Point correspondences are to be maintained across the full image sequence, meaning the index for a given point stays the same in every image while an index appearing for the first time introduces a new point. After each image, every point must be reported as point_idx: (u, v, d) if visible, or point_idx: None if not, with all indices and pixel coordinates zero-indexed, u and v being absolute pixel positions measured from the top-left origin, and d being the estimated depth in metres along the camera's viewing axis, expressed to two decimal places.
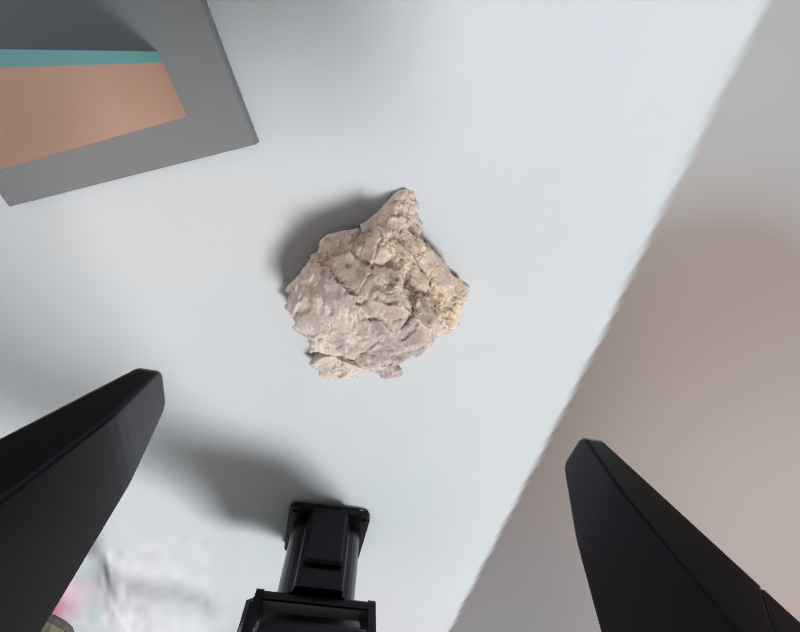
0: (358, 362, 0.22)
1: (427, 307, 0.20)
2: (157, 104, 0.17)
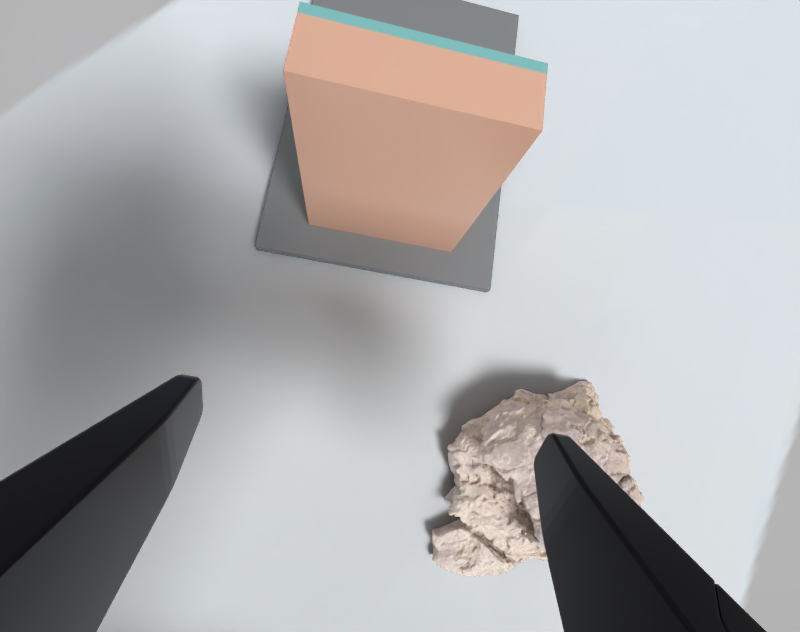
0: (540, 526, 0.18)
1: None
2: None
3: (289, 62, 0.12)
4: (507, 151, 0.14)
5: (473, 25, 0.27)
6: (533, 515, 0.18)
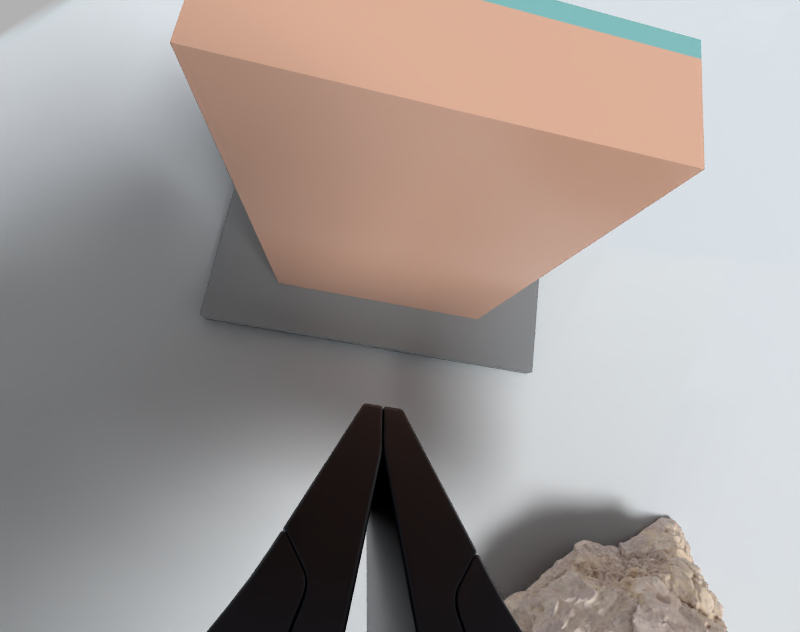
0: None
1: None
2: None
3: (185, 26, 0.06)
4: (615, 202, 0.08)
5: None
6: None
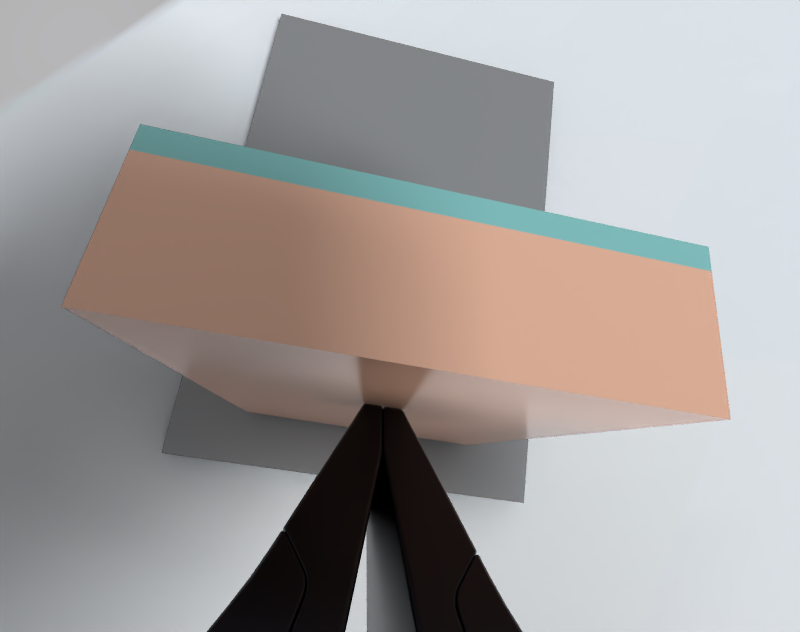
0: None
1: None
2: None
3: (85, 281, 0.05)
4: (619, 420, 0.07)
5: (492, 97, 0.20)
6: None
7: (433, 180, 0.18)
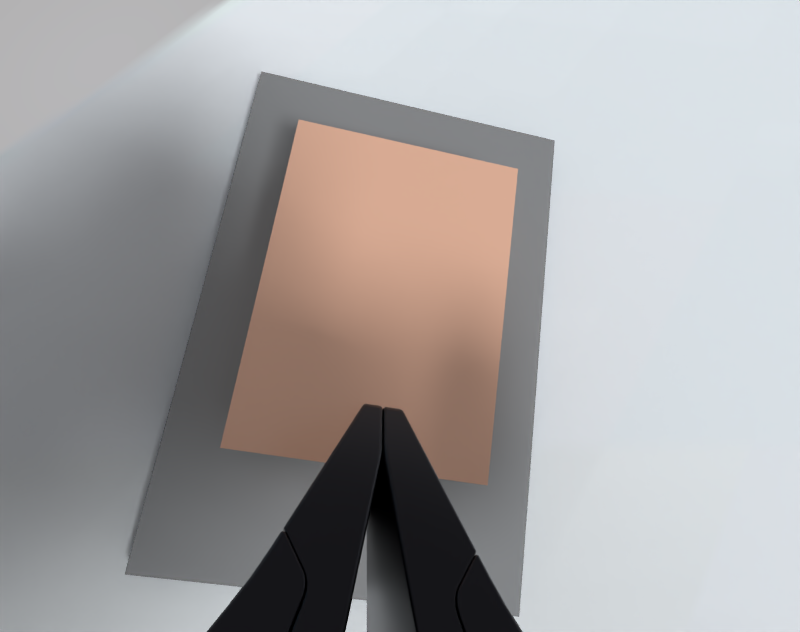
0: None
1: None
2: None
3: None
4: (499, 197, 0.15)
5: (488, 159, 0.18)
6: None
7: None
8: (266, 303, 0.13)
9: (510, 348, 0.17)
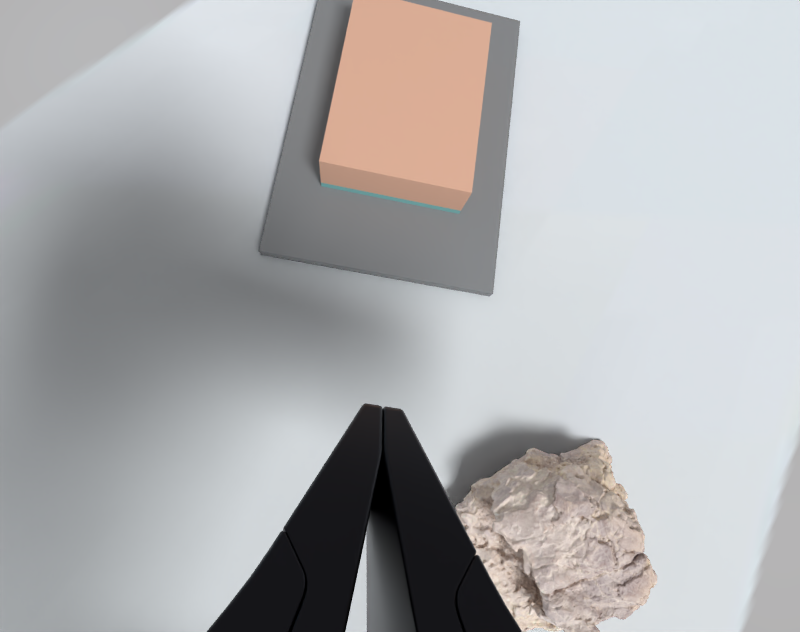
0: (549, 602, 0.18)
1: None
2: None
3: None
4: (479, 38, 0.24)
5: None
6: (542, 590, 0.18)
7: None
8: (341, 89, 0.22)
9: (488, 145, 0.26)
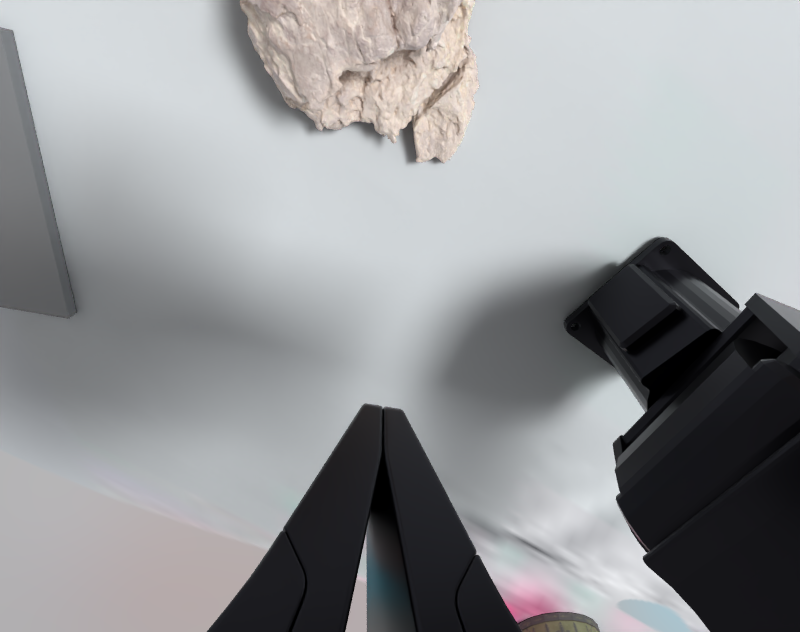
0: (406, 43, 0.13)
1: None
2: None
3: None
4: None
5: None
6: (389, 52, 0.13)
7: None
8: None
9: None
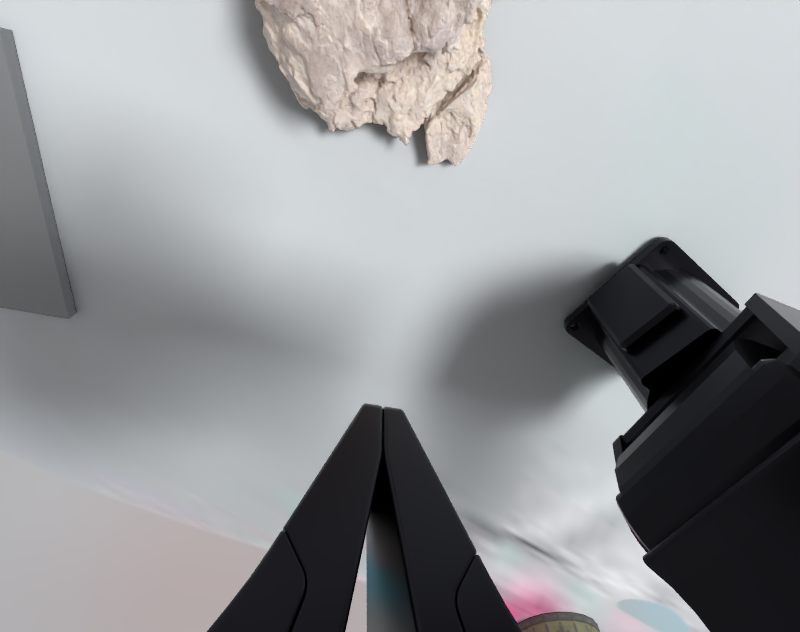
0: (422, 45, 0.13)
1: None
2: None
3: None
4: None
5: None
6: (405, 54, 0.13)
7: None
8: None
9: None
